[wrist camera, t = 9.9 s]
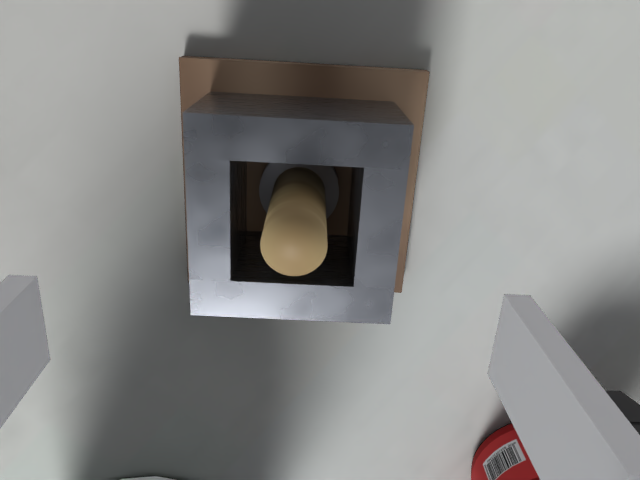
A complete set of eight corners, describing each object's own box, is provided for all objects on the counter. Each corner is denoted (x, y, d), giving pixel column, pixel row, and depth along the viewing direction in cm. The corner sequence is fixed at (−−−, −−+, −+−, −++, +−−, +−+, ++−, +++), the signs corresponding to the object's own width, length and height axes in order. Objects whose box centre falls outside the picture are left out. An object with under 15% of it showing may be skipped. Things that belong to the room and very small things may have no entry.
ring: (213, 259, 30) (190, 315, 25) (210, 91, 27) (182, 112, 21) (376, 267, 31) (390, 324, 25) (394, 101, 27) (414, 125, 22)
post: (191, 274, 32) (147, 368, 23) (183, 55, 27) (125, 76, 19) (399, 284, 32) (427, 380, 24) (425, 69, 27) (473, 96, 19)
